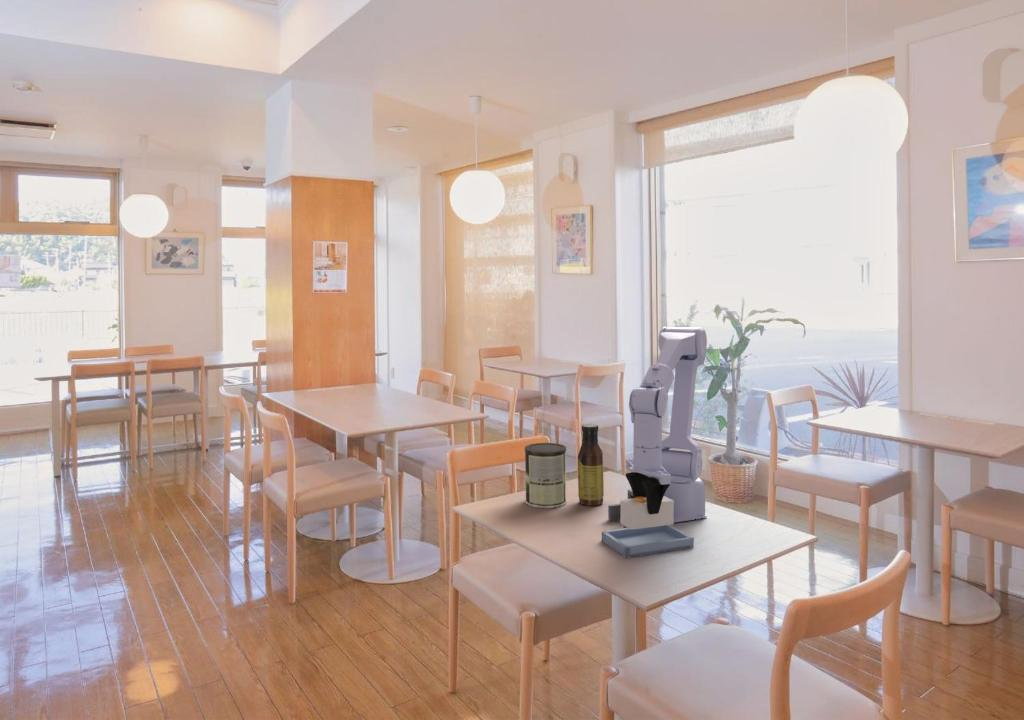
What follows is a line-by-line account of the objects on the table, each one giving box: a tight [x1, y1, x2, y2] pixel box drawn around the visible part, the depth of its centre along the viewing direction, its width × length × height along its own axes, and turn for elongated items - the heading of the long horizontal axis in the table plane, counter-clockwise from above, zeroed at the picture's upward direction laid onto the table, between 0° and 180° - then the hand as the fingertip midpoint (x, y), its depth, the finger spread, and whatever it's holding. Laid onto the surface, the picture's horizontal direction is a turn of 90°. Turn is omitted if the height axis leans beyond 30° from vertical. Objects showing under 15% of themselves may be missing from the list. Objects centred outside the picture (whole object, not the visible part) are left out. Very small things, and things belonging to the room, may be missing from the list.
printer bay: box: [607, 488, 634, 529], centre depth 163 cm, size 9×8×6 cm
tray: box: [601, 525, 695, 559], centre depth 150 cm, size 16×11×2 cm
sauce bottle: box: [577, 423, 605, 507], centre depth 178 cm, size 6×6×20 cm
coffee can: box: [524, 442, 567, 509], centre depth 179 cm, size 10×10×14 cm
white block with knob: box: [619, 496, 674, 530], centre depth 149 cm, size 10×4×6 cm, turn 110°
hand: (647, 509), depth 149 cm, fingers closed on white block with knob, 4 cm apart
